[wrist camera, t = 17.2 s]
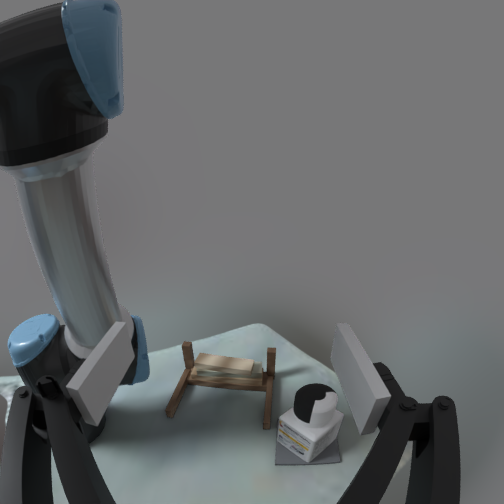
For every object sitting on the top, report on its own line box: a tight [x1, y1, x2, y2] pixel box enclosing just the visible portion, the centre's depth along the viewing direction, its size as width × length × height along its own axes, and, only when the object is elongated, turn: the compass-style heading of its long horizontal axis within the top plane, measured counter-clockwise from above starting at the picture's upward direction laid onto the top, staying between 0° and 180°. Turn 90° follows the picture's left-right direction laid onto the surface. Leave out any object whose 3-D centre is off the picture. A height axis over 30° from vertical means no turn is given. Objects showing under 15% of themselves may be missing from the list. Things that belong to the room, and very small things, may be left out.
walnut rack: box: [165, 342, 276, 429], centre depth 50 cm, size 21×17×8 cm
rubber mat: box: [275, 419, 340, 465], centre depth 39 cm, size 11×11×1 cm
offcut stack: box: [191, 353, 263, 385], centre depth 55 cm, size 16×5×4 cm, turn 84°
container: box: [277, 383, 344, 463], centre depth 37 cm, size 8×8×13 cm
